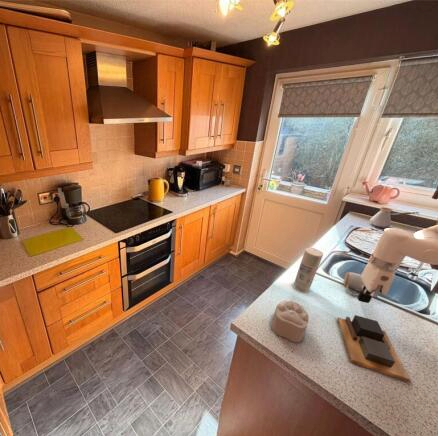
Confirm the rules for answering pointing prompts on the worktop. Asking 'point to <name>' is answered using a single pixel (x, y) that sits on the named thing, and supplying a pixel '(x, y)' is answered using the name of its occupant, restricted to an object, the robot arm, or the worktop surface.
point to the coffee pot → (384, 217)
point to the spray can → (307, 269)
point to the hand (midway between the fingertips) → (362, 300)
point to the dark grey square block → (367, 328)
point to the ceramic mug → (353, 282)
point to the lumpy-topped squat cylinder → (290, 320)
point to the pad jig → (372, 351)
